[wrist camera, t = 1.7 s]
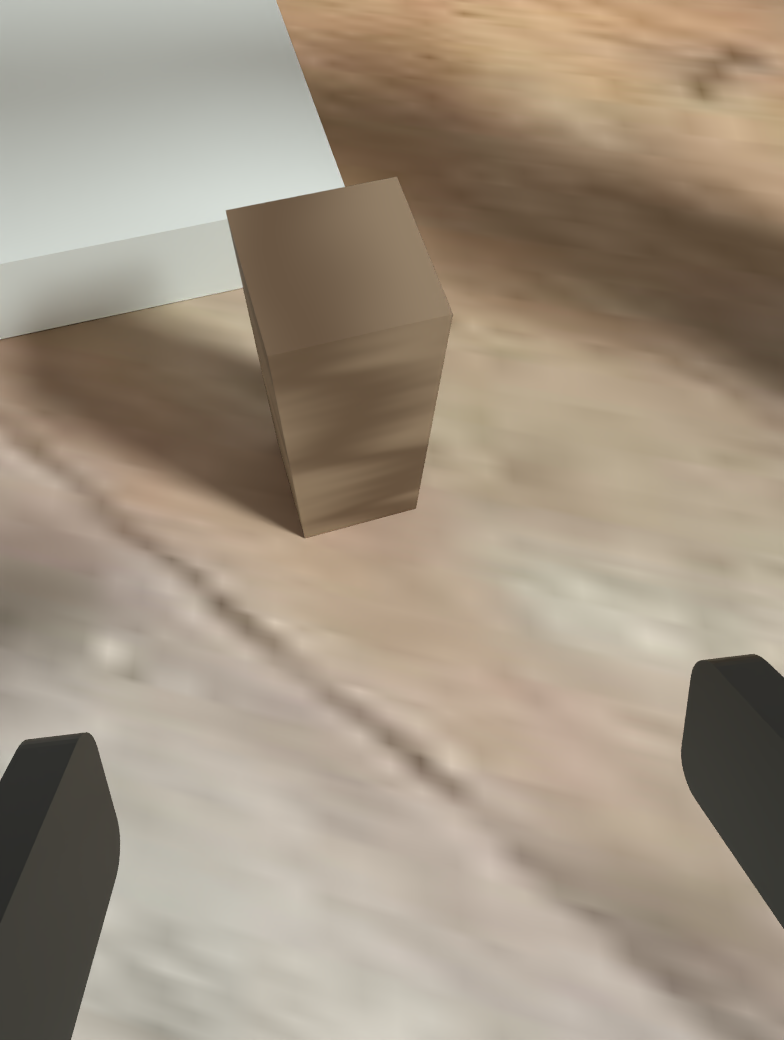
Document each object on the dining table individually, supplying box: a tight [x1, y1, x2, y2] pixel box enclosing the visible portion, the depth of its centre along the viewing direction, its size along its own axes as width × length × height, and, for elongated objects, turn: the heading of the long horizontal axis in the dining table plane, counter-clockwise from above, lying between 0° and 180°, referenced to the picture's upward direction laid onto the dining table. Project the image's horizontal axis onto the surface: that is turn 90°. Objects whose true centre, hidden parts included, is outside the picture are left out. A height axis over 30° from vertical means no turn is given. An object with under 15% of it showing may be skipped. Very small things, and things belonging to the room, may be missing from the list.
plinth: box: [0, 0, 345, 339], centre depth 32 cm, size 20×20×4 cm
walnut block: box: [226, 177, 453, 538], centre depth 23 cm, size 4×4×12 cm
